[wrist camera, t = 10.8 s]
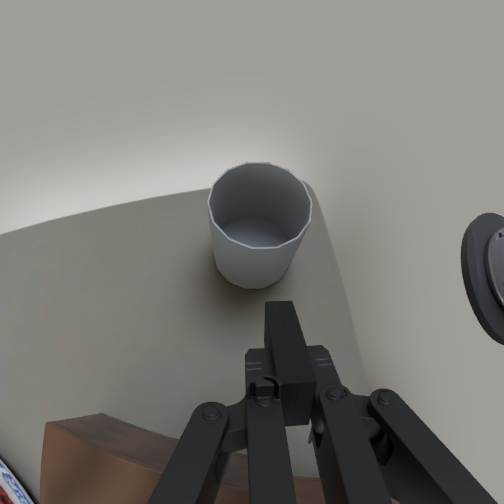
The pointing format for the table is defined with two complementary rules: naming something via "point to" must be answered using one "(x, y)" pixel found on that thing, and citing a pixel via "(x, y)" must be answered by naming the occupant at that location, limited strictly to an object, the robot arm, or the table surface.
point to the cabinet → (116, 464)
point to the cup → (257, 222)
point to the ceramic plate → (11, 488)
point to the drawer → (318, 491)
